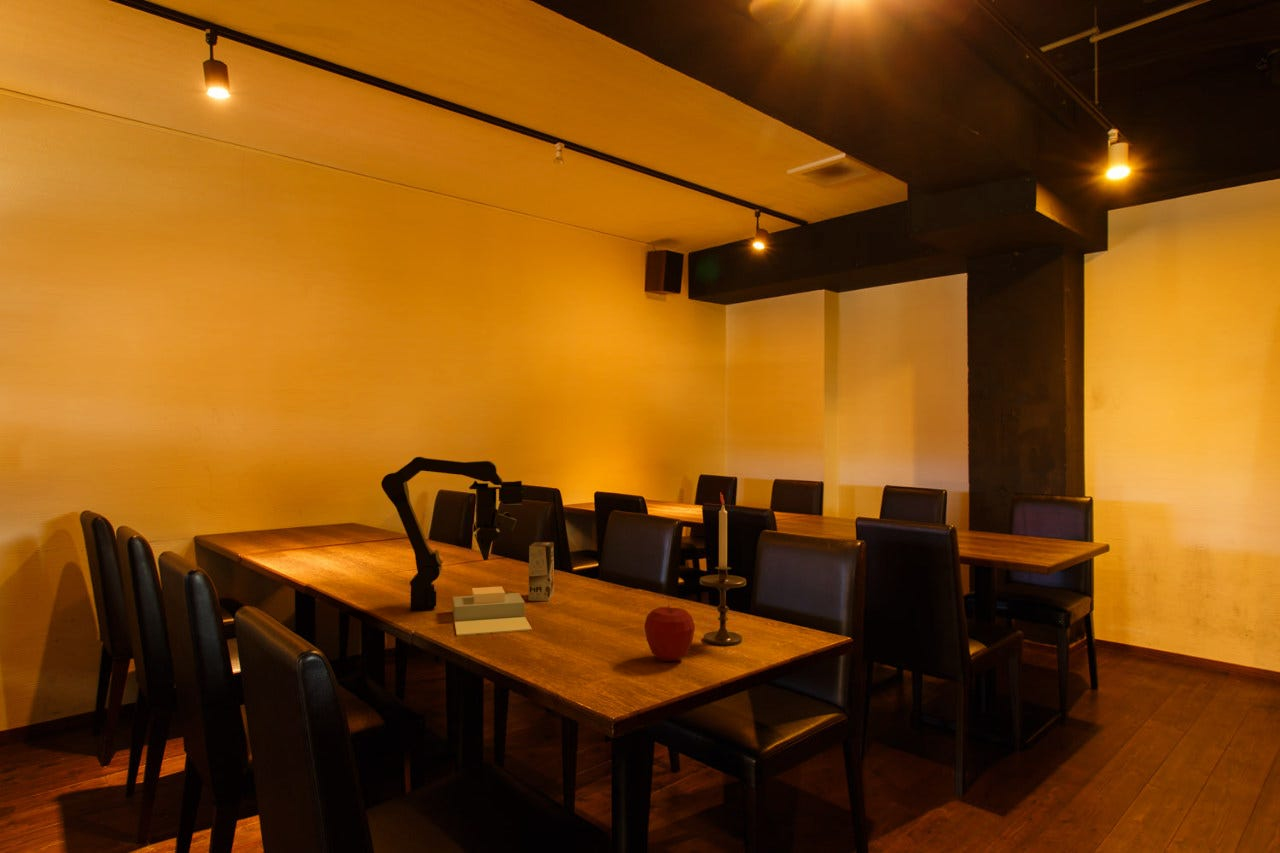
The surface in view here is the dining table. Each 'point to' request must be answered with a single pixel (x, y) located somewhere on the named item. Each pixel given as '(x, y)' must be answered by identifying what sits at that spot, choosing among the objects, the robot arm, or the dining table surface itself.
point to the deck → (488, 608)
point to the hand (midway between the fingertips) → (485, 560)
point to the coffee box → (541, 571)
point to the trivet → (488, 595)
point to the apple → (669, 632)
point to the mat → (492, 626)
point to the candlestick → (722, 587)
